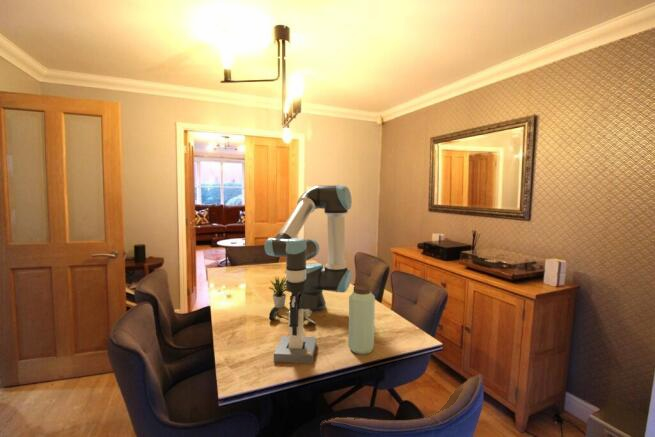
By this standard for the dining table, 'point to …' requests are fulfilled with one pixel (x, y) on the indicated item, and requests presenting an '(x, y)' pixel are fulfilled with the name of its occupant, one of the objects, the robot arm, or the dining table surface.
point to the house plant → (279, 293)
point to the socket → (295, 351)
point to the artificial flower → (275, 313)
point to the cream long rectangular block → (300, 324)
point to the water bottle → (361, 319)
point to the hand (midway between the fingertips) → (296, 339)
